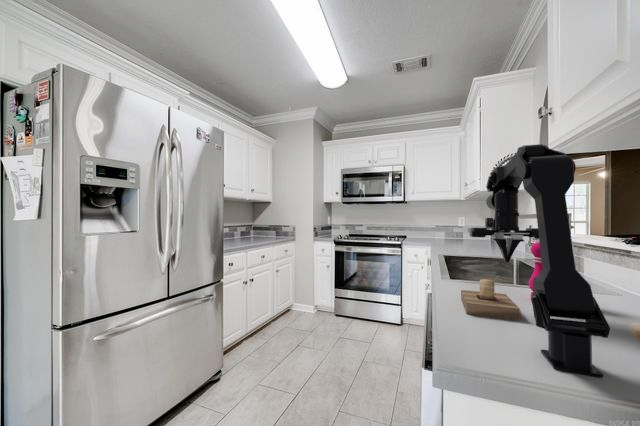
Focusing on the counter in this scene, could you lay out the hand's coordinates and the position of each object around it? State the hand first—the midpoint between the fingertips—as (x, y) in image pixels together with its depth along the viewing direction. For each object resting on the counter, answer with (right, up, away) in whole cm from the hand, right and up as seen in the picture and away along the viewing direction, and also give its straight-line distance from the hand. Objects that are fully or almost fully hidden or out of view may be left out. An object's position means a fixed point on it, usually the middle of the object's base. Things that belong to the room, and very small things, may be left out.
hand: (506, 262), depth 79 cm
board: (-7, -13, -2) cm, 15 cm away
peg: (-7, -13, -2) cm, 15 cm away
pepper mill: (+15, -13, +5) cm, 21 cm away
